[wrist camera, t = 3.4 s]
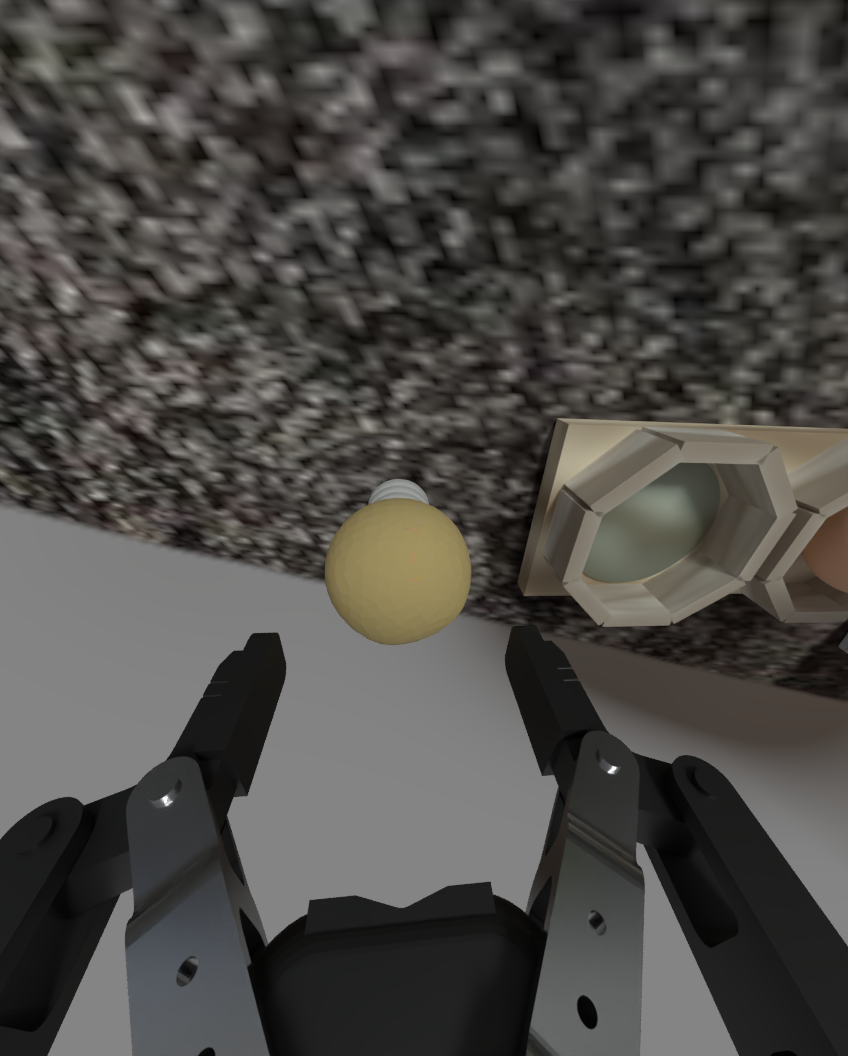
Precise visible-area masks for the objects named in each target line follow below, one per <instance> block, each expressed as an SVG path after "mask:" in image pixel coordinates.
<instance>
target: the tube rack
mask: <svg viewBox="0 0 848 1056" xmlns="http://www.w3.org/2000/svg"><path fill="white" fill-rule="evenodd" d="M847 506H848V429H837V428H809V427H782V426H754V425H727V424H699V423H671V422H644V421H616V420H589V419H561V418H557V421H556V425H555V429H554V433H553V437H552V442H551V446H550V450H549V454H548V458H547V462H546V466H545V471H544V475H543V479H542V483H541V487H540V491H539V495H538V500H537V504H536V508H535V512H534V516H533V520H532V524H531V529H530V533H529V537H528V541H527V545H526V549H525V553H524V558H523V562H522V566H521V570H520V574H519V578H518V582H517V583H518V585H519V587H520V589H521V591H522V593H523V595H524V596H569V595H571V596H572V597H573V598H574V599H575V600H576V601H577V602H578V603H579V604H580V605H581V607H582V608H583V609H584V610H585V611H586V612H587V613H588V614H589V615H590V616H591V618H592V619H593V620H594V621H595V622H596V623H597V624H598V625H600V624H601V625H602V627H613V626H663V625H669V624H670V623H671V621H672V622H673V623H674V624H675V623H677V622H679V621H680V620H682V619H684V618H686V617H688V616H690V615H691V614H693V613H695V612H697V611H699V610H701V609H702V608H704V607H706V606H708V605H710V604H712V603H713V602H715V601H717V600H719V599H721V598H723V597H724V596H726V595H728V594H744V595H745V596H747V597H748V598H749V599H751V600H752V601H753V602H755V603H756V604H758V605H759V606H760V607H762V608H763V609H764V610H766V611H767V612H768V613H770V614H771V615H772V616H774V617H775V618H777V619H778V620H779V621H781V622H783V623H813V622H844V621H845V620H846V619H848V593H845V592H843V591H840V590H838V589H836V588H834V587H832V586H830V585H828V584H827V583H825V582H824V581H822V580H821V579H820V578H818V577H817V576H816V575H815V574H814V573H813V572H812V571H811V569H810V568H809V567H808V565H807V564H806V562H805V560H804V557H803V554H802V551H803V549H804V548H805V547H806V545H807V544H808V543H809V541H810V540H811V539H812V537H813V536H814V535H815V533H816V532H817V530H818V529H819V528H820V526H821V525H822V524H823V522H824V521H825V520H826V518H828V517H830V516H831V515H833V514H835V513H837V512H838V511H840V510H842V509H844V508H846V507H847Z"/></svg>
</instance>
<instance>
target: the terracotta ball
mask: <svg viewBox="0 0 848 1056" xmlns="http://www.w3.org/2000/svg"><path fill="white" fill-rule="evenodd" d="M802 554H803V557H804V560H805V562H806V564H807V565H808V567H809V568H810V569H811V571H812V572H813V573H814V574H815V575H816V576H817V577H818V578H820V579H821V580H822V581H824V582H825V583H827V584H828V585H830V586H832V587H834V588H836V589H838V590H840V591H843V592H845V593H848V506H847V507H846V508H844V509H842V510H840V511H838V512H837V513H835V514H833V515H831V516H830V517H828V518H826V520H825V521H824V522H823V524H822V525H821V526H820V528H819V529H818V530H817V532H816V533H815V535H814V536H813V537H812V539H811V540H810V541H809V543H808V544H807V545H806V547H805V548H804V549H803V551H802Z"/></svg>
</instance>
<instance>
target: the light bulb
mask: <svg viewBox="0 0 848 1056" xmlns="http://www.w3.org/2000/svg"><path fill="white" fill-rule="evenodd" d="M470 581H471V564H470V558H469V553H468V548H467V546H466V544H465V541H464V539H463V537H462V535H461V533H460V531H459V530H458V528H457V527H456V526H455V525H454V523H453V522H452V521H451V520H450V519H449V518H448V517H447V516H446V515H445V514H444V513H442V512H441V511H439V510H438V509H436V508H435V507H433V506H431V505H429V502H428V498H427V496H426V494H425V492H424V491H423V490H422V489H421V488H420V487H419V486H418V485H416V484H415V483H413V482H411V481H408V480H403V479H393V480H389V481H386V482H384V483H382V484H381V485H379V486H378V487H377V488H376V489H375V490H374V491H373V493H372V494H371V496H370V499H369V503H368V505H367V506H365V507H363V508H361V509H360V510H358V511H357V512H355V513H354V514H352V515H351V516H350V517H349V518H348V519H347V520H346V521H345V522H344V523H343V525H342V526H341V527H340V529H339V530H338V531H337V532H336V534H335V536H334V538H333V540H332V542H331V544H330V546H329V549H328V553H327V556H326V562H325V582H326V587H327V591H328V594H329V597H330V599H331V602H332V604H333V605H334V607H335V609H336V610H337V612H338V613H339V615H340V616H341V617H342V618H343V619H344V620H345V621H346V623H347V624H348V625H349V626H350V627H351V628H353V629H354V630H355V631H356V632H358V633H360V634H361V635H363V636H364V637H366V638H367V639H369V640H372V641H375V642H378V643H381V644H387V645H398V644H406V643H411V642H416V641H419V640H421V639H424V638H426V637H429V636H431V635H433V634H435V633H437V632H439V631H440V630H441V629H443V628H444V627H446V626H447V625H448V624H450V623H451V622H452V621H453V620H454V619H455V618H456V617H457V616H458V614H459V613H460V612H461V610H462V608H463V607H464V604H465V602H466V599H467V595H468V592H469V588H470Z"/></svg>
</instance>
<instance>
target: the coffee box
mask: <svg viewBox="0 0 848 1056" xmlns="http://www.w3.org/2000/svg"><path fill="white" fill-rule="evenodd" d="M838 647H839V648H840V649H842V650H843V651H844V652H846V653H847V654H848V633H847V634H846V636H845V637H844V638H843V640H842V641H841V643H840V644H839V646H838Z"/></svg>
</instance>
